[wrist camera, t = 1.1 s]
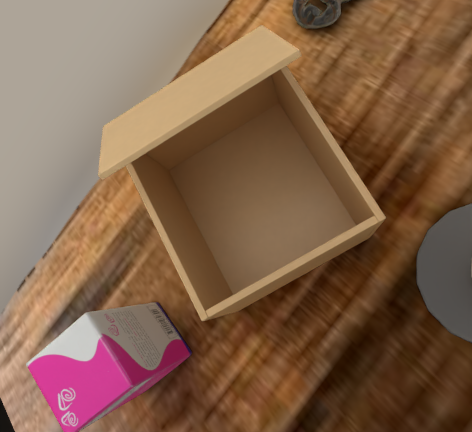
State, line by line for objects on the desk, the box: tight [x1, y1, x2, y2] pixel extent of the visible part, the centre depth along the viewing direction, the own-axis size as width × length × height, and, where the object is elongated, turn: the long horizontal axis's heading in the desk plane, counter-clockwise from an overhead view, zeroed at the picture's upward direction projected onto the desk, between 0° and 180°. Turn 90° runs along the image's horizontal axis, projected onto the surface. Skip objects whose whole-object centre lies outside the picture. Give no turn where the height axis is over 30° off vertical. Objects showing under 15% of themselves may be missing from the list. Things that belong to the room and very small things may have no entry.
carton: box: [126, 65, 386, 321], centre depth 33 cm, size 15×13×10 cm
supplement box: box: [26, 302, 192, 432], centre depth 32 cm, size 6×6×12 cm
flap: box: [98, 25, 302, 180], centre depth 26 cm, size 7×13×1 cm
